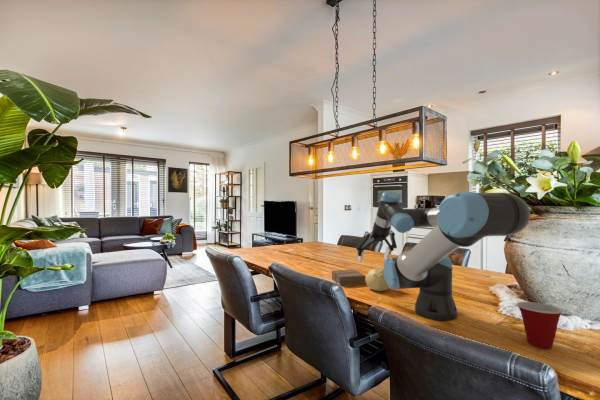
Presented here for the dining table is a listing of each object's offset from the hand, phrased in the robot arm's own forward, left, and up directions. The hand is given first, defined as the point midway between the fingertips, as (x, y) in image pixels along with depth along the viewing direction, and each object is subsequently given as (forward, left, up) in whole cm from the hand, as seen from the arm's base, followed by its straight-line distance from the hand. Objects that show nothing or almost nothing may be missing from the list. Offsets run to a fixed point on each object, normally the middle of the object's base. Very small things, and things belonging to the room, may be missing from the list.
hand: (372, 259), depth 138 cm
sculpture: (+3, -5, -16) cm, 17 cm away
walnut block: (+19, +5, -16) cm, 26 cm away
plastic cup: (-57, -28, -16) cm, 65 cm away
